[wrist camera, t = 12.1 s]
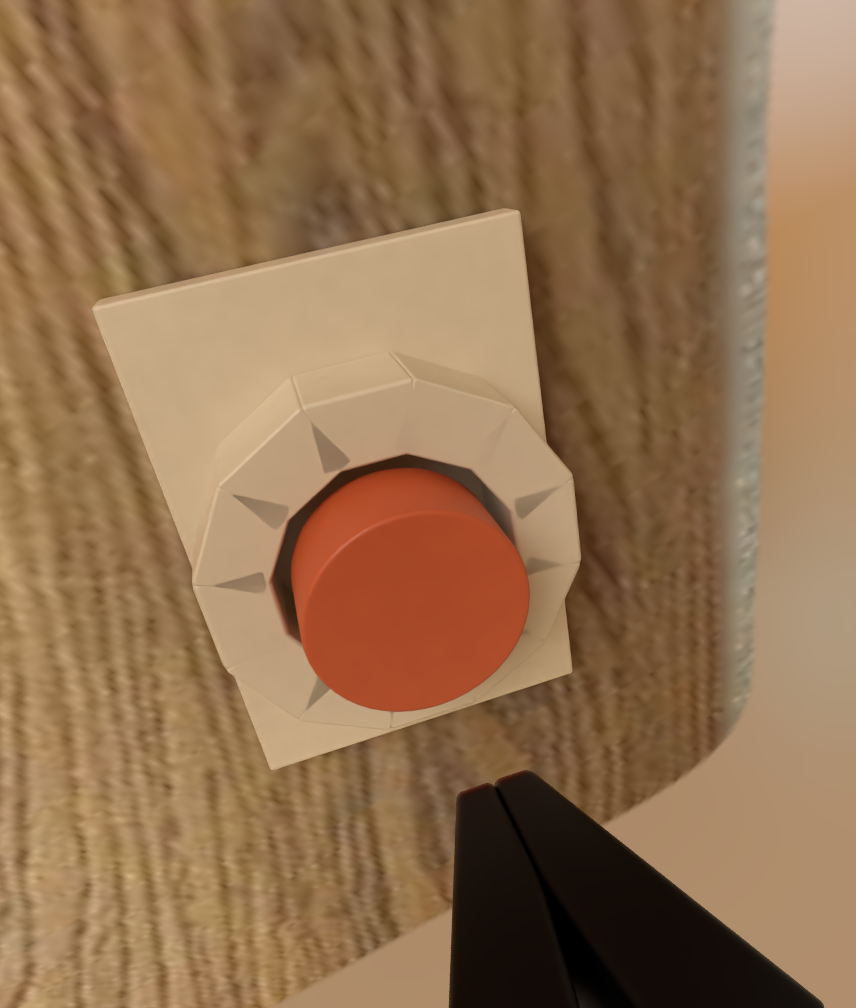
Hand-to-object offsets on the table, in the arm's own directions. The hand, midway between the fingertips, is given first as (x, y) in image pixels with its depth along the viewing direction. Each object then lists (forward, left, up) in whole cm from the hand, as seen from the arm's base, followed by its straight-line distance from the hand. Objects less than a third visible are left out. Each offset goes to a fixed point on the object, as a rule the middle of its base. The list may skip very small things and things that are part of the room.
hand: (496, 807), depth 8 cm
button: (0, 0, -5) cm, 5 cm away
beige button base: (0, 0, -8) cm, 8 cm away
